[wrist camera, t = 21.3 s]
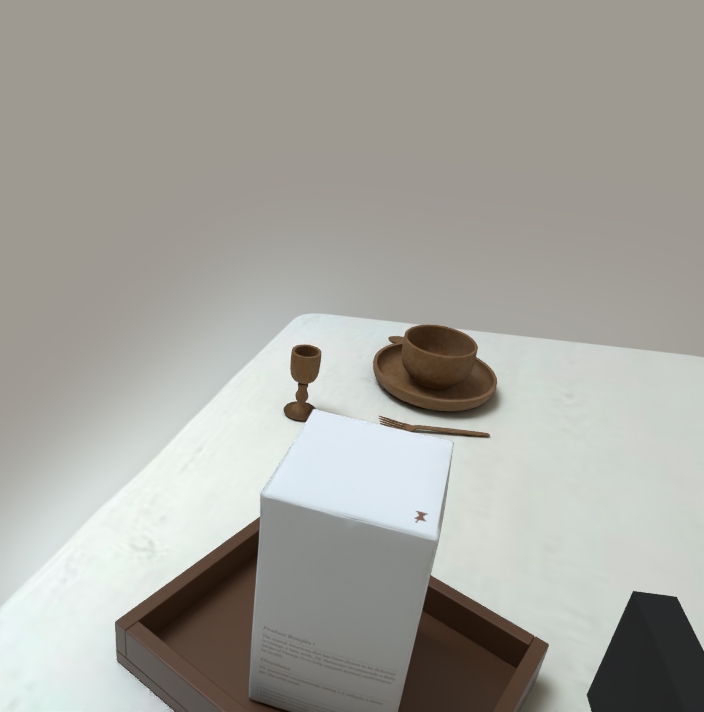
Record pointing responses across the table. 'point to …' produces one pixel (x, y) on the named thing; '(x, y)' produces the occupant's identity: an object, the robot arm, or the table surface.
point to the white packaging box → (345, 564)
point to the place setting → (413, 374)
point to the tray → (234, 637)
